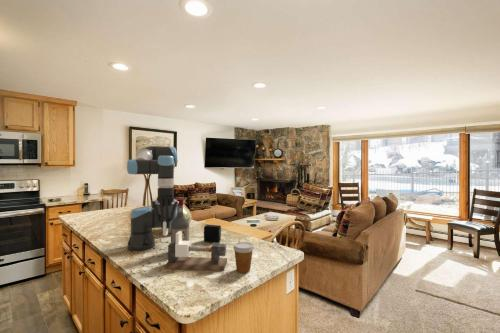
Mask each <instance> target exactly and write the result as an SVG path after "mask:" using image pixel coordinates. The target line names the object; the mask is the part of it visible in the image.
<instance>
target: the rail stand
mask: <svg viewBox="0 0 500 333" xmlns="http://www.w3.org/2000/svg"><path fill="white" fill-rule="evenodd" d="M175 244H176V241H172V242H171V241H170V243H169V244H168V245H167V262H166V263H165V269H166V270H167V269H168V270H192V271H193V270H194V271H221V272H222V271H223V272H224V271H225V269H226V266H227V264H228V258H227V257H225V256H226V254H227V243H220V242H218V243H215V242H214V243H213V242H212V244H211V246H206V247H205V246H191V247H189V251H191V252H206V253H210V255H211V256H210V257H205V256H204V257H203V256H202V257H199V256H195V257H194V256H188V257H175Z"/></svg>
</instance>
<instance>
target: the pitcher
mask: <svg viewBox="0 0 500 333" xmlns="http://www.w3.org/2000/svg"><path fill="white" fill-rule="evenodd" d="M177 199H178V198H175V200H176V201H177ZM183 199H184V202H185V201H186V200H187V199H188V197H185V198H183ZM183 215H184V217H185V219H186V220H187V221H188V222H189V224H191V221H192V213H191V211H190V210H189V209H188V208H187V207H186V205H185V204H184V205H183ZM168 234H171V227H170V228H168Z"/></svg>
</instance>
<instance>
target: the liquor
mask: <svg viewBox="0 0 500 333" xmlns="http://www.w3.org/2000/svg"><path fill="white" fill-rule="evenodd" d="M176 199H177V201H179V203H178V205H177V216H176V217H175V219H174V220H173V221H172V222H171V233H170V243H171V242H172V241H176V233H177V232H179V231H182V241H190V223H189V222H188V221H187V220H186V219H185V217H184V215H183V205H184V206H185V201H184V199H185V198H176Z"/></svg>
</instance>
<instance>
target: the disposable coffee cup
mask: <svg viewBox="0 0 500 333" xmlns="http://www.w3.org/2000/svg"><path fill="white" fill-rule="evenodd" d="M233 251H234V257H235V267H236V272H237V273H239V274H247V272H248V273H249V272H251V266H252V259H253V251H254V245H253V244H252V243H251V242H247V241H239V242H237V243H234V246H233Z"/></svg>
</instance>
